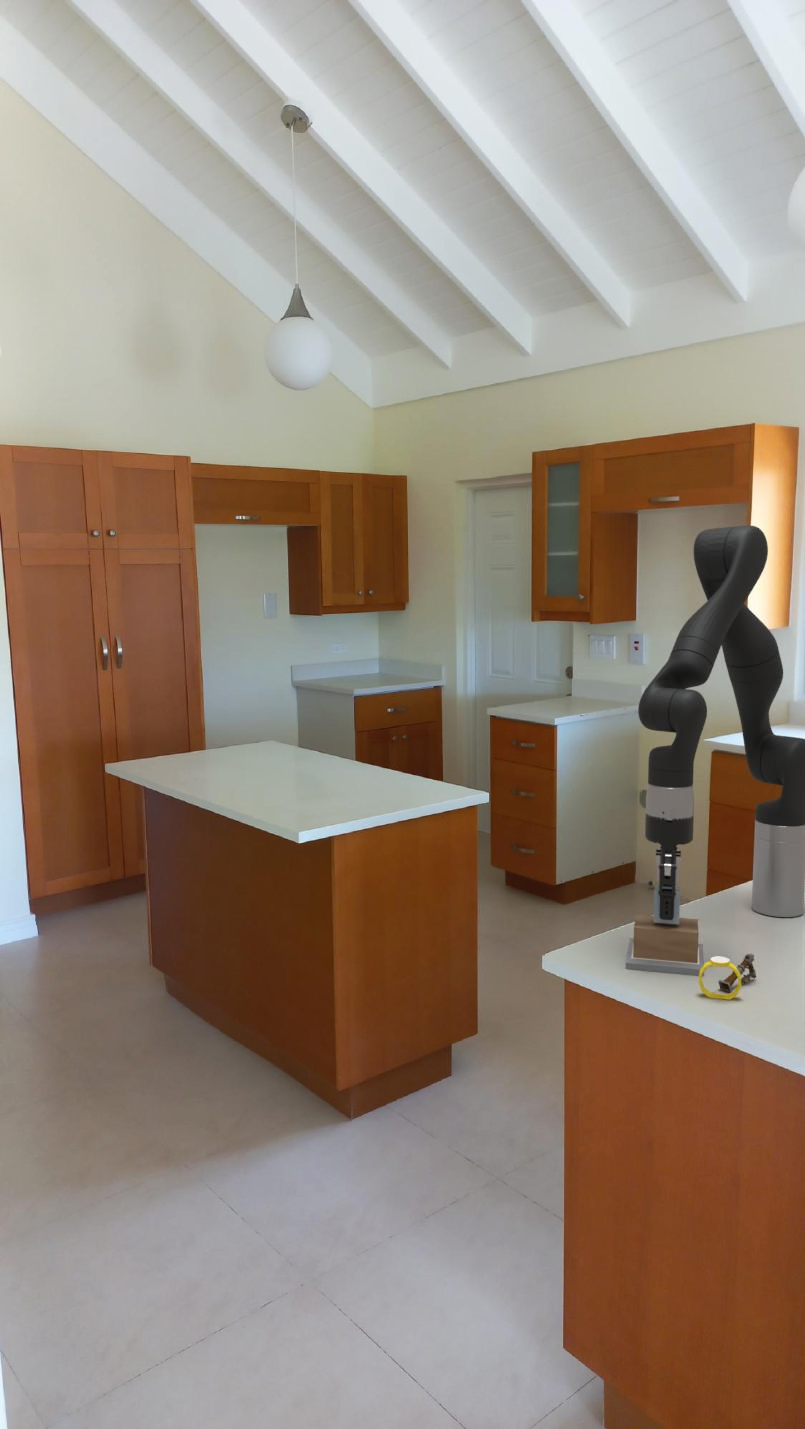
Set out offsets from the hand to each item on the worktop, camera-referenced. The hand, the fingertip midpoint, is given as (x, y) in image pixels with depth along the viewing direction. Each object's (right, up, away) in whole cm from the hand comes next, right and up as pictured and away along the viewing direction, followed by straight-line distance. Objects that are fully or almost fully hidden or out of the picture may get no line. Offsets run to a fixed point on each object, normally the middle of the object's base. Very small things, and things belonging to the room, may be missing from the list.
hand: (666, 913), depth 163 cm
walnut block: (0, -6, +1) cm, 7 cm away
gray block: (0, -1, 0) cm, 1 cm away
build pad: (0, -8, +1) cm, 8 cm away
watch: (+4, -10, -15) cm, 18 cm away
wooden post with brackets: (+8, -9, -10) cm, 16 cm away
